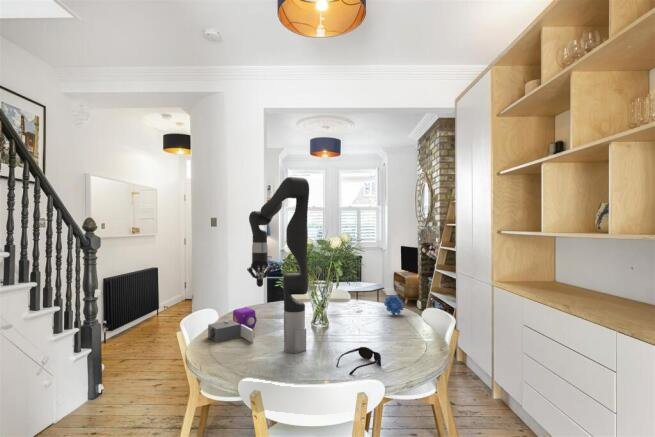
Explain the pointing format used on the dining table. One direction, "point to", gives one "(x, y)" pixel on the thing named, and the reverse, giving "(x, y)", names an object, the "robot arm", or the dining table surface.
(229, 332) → the camera case
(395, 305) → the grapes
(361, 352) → the sunglasses
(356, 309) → the dining table surface
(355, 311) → the dining table surface
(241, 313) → the toy camera
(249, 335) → the side door
